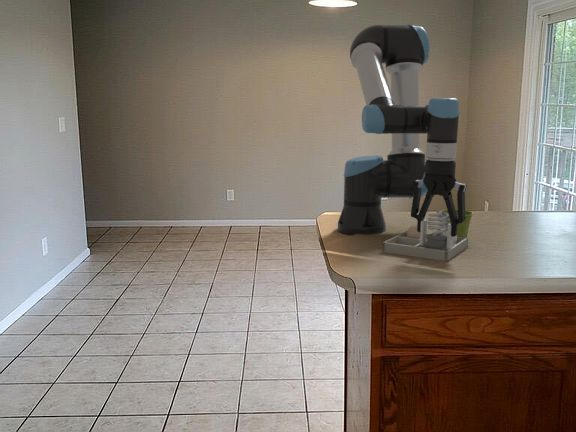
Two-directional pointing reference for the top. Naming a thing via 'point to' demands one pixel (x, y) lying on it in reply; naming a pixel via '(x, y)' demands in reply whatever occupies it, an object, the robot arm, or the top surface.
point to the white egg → (453, 237)
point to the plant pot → (462, 224)
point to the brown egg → (413, 232)
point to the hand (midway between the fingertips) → (436, 246)
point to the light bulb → (437, 238)
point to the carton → (422, 248)
